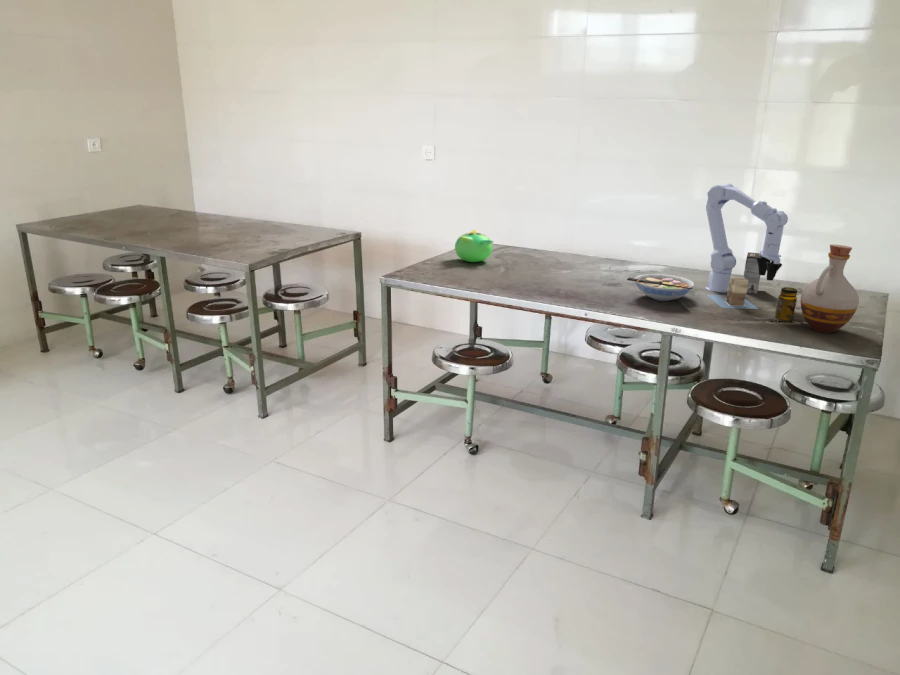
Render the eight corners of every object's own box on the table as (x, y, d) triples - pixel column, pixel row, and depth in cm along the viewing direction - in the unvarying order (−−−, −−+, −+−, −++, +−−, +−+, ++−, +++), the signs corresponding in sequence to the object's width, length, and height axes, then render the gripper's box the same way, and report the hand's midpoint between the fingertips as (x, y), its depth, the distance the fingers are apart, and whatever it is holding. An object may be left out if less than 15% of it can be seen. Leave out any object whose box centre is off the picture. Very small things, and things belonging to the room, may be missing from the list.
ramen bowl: (699, 297, 274) (702, 277, 272) (687, 311, 256) (690, 290, 253) (638, 287, 286) (641, 268, 283) (622, 300, 268) (624, 280, 265)
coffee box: (741, 288, 288) (747, 251, 282) (757, 290, 285) (764, 253, 280) (740, 294, 280) (746, 256, 274) (756, 296, 277) (763, 257, 272)
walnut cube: (725, 301, 265) (727, 289, 263) (738, 302, 265) (740, 289, 263) (730, 305, 260) (732, 293, 259) (743, 305, 260) (745, 293, 259)
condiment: (796, 324, 244) (802, 292, 240) (771, 322, 245) (777, 290, 241) (789, 317, 251) (795, 286, 247) (765, 316, 252) (771, 285, 248)
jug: (833, 342, 226) (853, 254, 216) (782, 327, 240) (799, 244, 229) (861, 331, 237) (881, 247, 227) (810, 318, 251) (827, 238, 240)
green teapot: (489, 257, 333) (491, 228, 328) (494, 266, 317) (495, 235, 312) (453, 257, 332) (454, 227, 327) (455, 265, 316) (456, 234, 311)
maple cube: (728, 289, 263) (730, 277, 262) (741, 289, 263) (743, 277, 262) (733, 293, 259) (735, 280, 257) (746, 293, 259) (748, 280, 257)
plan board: (705, 297, 274) (706, 294, 274) (740, 298, 274) (740, 295, 274) (721, 310, 257) (722, 307, 257) (758, 311, 257) (759, 308, 257)
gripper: (791, 247, 253) (784, 282, 258) (774, 239, 267) (768, 273, 271) (772, 247, 253) (765, 282, 258) (756, 239, 267) (750, 272, 271)
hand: (765, 277), depth 265 cm, fingers open, 7 cm apart
